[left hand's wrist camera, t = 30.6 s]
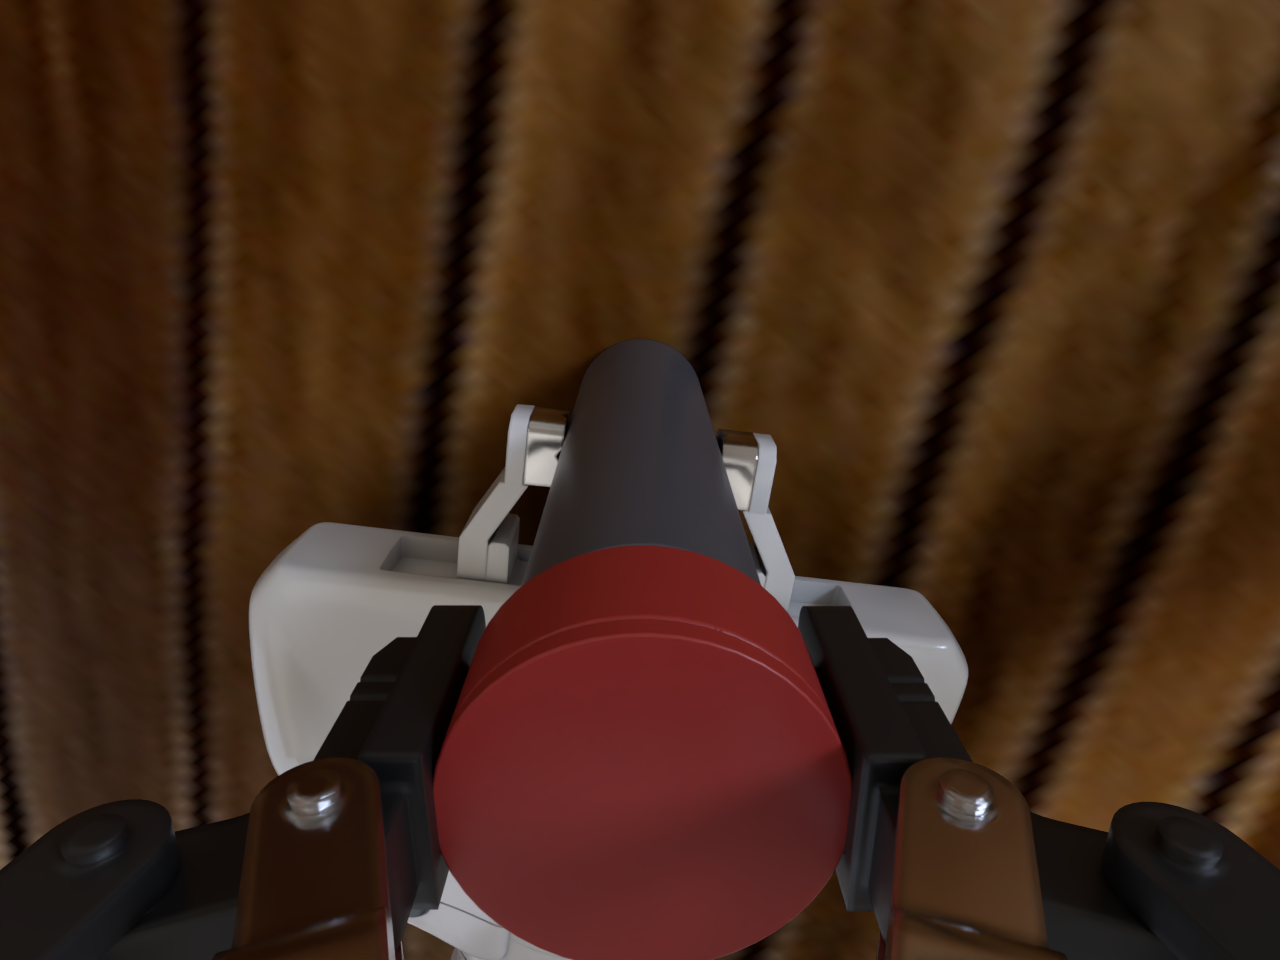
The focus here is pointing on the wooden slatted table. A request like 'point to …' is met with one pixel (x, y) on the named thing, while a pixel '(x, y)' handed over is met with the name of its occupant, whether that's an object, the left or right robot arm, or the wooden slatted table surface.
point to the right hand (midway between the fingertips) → (643, 424)
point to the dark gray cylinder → (640, 466)
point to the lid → (642, 762)
